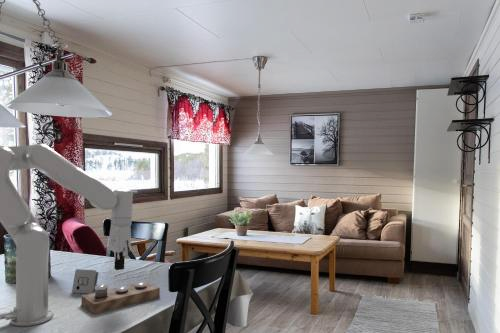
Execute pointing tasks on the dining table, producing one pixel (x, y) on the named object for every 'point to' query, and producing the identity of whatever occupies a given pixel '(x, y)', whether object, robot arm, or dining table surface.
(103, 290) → the knob near
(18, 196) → the robot arm
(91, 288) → the electrical switch
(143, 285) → the knob far
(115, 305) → the knob mount
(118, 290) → the knob mid
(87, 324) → the dining table surface
